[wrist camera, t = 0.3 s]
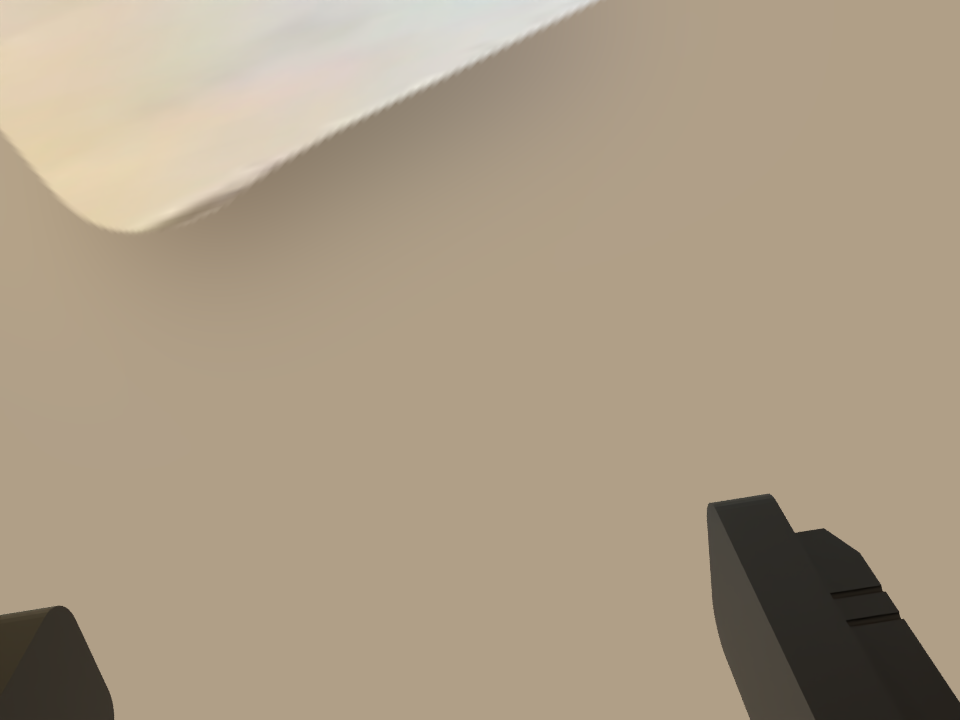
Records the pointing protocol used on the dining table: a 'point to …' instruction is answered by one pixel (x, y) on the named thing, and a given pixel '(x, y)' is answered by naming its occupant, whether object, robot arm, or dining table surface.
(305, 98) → the dining table surface
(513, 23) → the dining table surface
